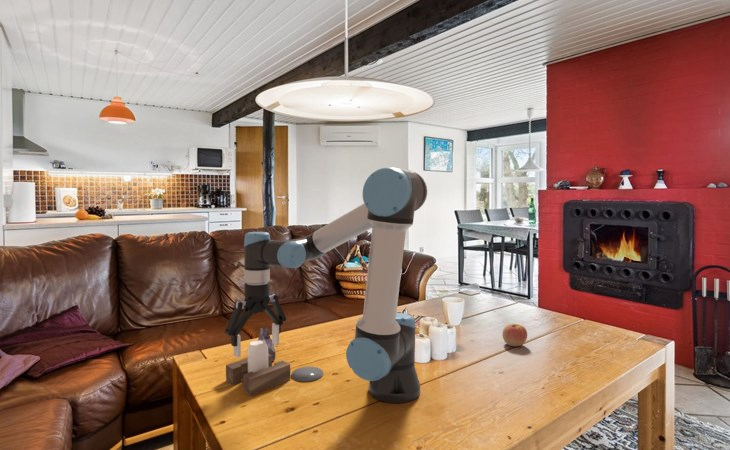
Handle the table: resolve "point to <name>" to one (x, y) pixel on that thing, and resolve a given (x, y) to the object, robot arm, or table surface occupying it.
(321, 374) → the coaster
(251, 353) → the beverage can
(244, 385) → the notched wooden bars
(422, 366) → the table surface
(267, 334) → the stone
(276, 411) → the table surface
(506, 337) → the apple
